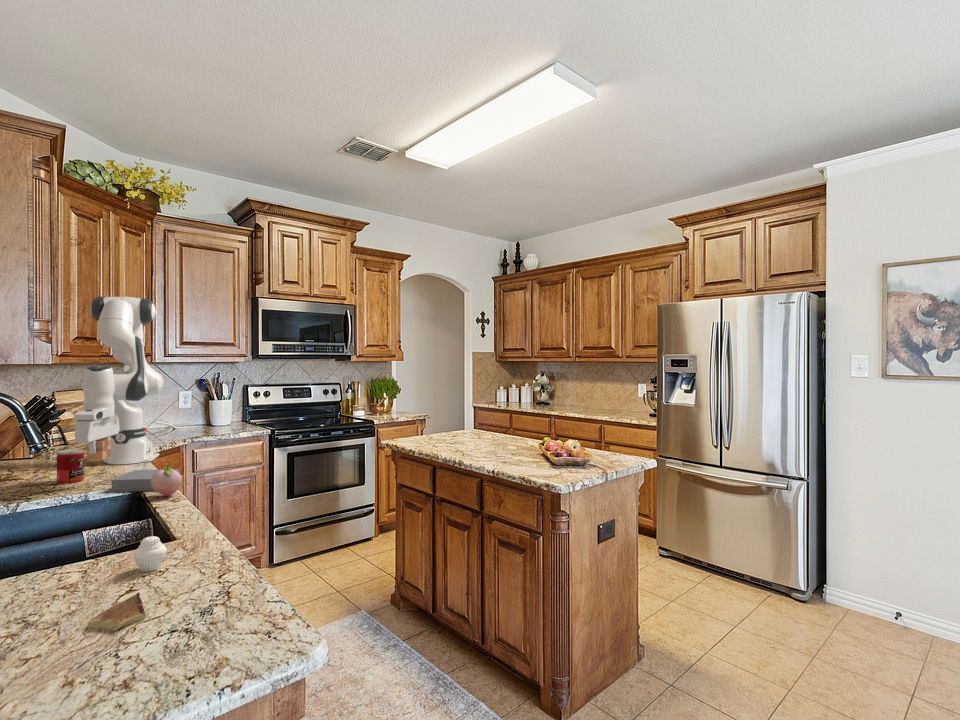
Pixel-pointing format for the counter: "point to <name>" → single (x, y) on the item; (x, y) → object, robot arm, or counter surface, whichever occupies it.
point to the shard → (120, 614)
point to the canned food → (70, 466)
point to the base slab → (135, 481)
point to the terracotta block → (101, 449)
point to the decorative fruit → (166, 481)
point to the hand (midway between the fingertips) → (98, 451)
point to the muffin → (150, 554)
